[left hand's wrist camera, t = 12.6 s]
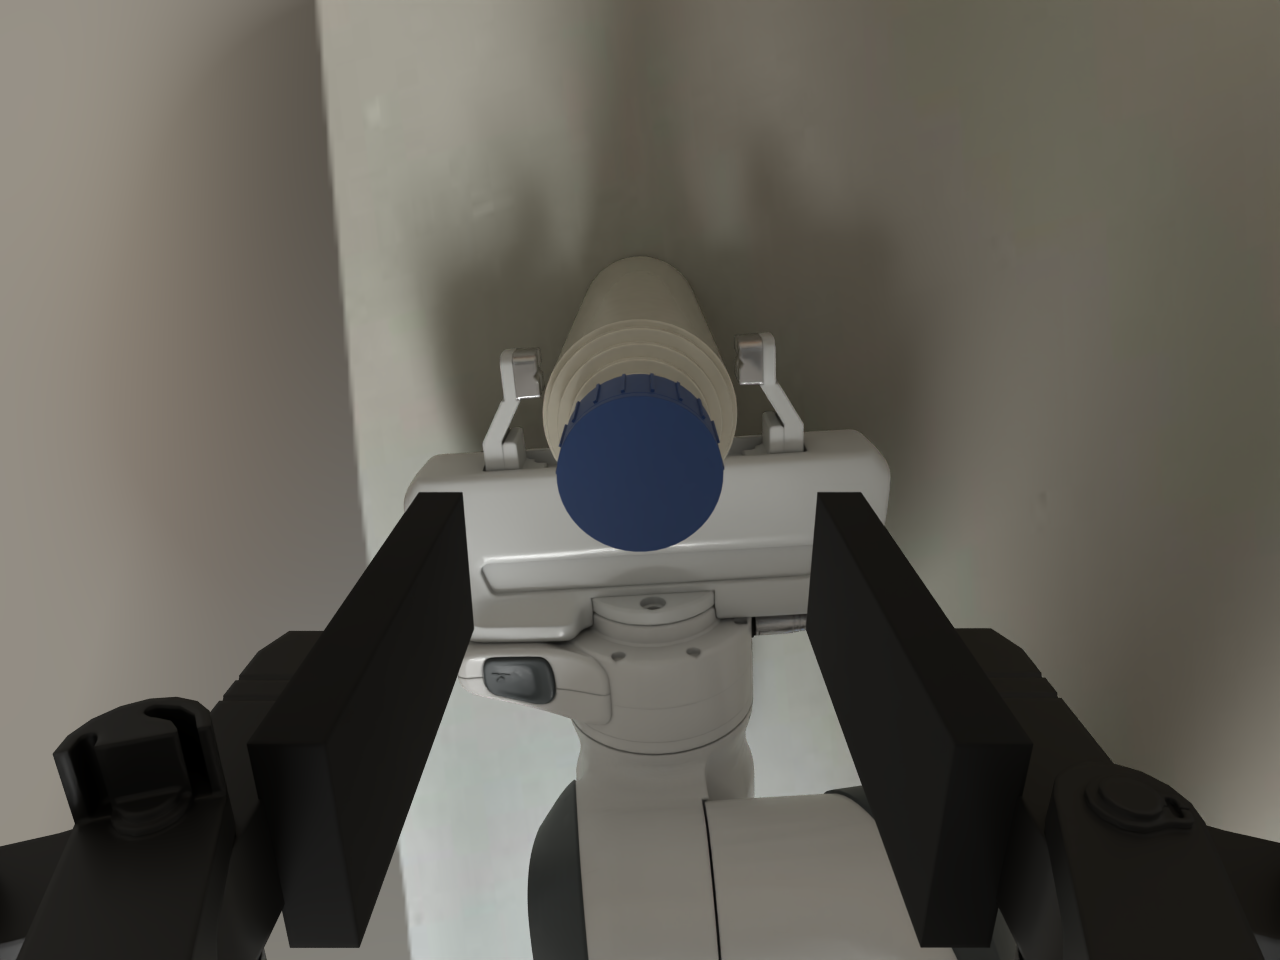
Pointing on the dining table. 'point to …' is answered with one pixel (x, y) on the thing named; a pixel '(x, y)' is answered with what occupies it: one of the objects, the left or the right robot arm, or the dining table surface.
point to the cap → (639, 463)
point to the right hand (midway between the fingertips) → (636, 342)
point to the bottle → (639, 345)
